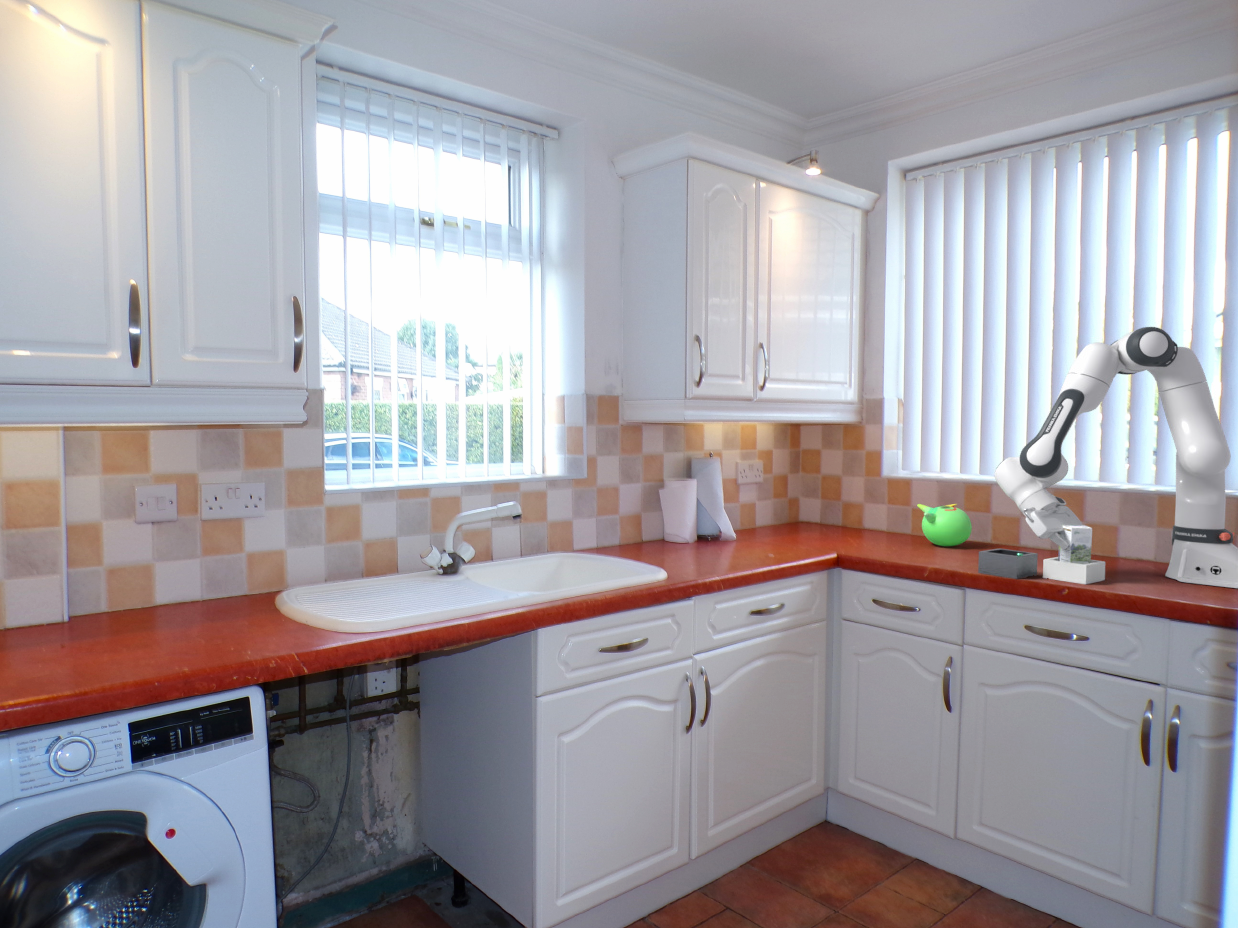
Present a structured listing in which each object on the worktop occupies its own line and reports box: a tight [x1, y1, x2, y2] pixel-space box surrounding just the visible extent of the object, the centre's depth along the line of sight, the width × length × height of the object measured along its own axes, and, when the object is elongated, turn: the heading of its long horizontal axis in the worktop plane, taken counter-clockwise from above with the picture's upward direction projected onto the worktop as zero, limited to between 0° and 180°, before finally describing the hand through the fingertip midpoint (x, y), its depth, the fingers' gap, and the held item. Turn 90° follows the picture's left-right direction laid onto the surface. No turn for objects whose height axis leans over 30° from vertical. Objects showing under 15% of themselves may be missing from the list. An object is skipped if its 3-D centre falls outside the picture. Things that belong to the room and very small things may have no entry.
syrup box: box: [1057, 524, 1093, 564], centre depth 218 cm, size 6×6×14 cm
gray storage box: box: [977, 548, 1039, 580], centre depth 225 cm, size 11×11×7 cm
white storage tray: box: [1042, 556, 1106, 585], centre depth 218 cm, size 11×11×5 cm
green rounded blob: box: [917, 503, 973, 547], centre depth 278 cm, size 18×17×15 cm
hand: (1075, 546), depth 218 cm, fingers open, 8 cm apart
